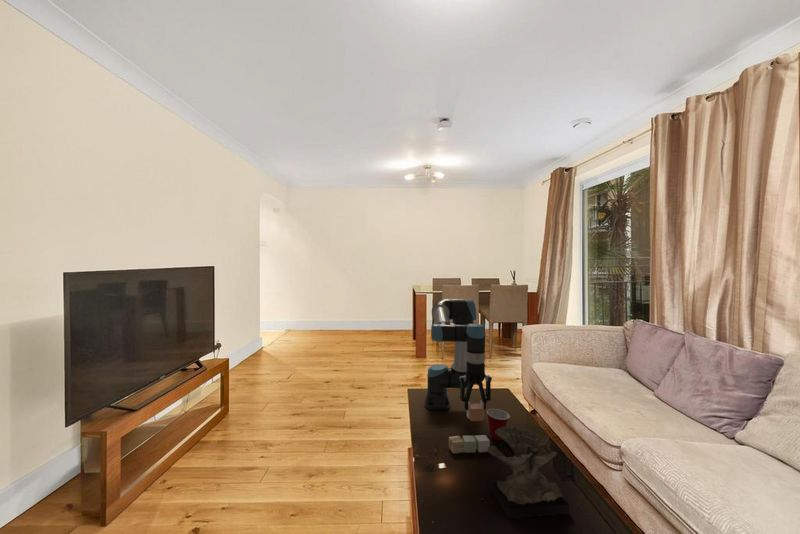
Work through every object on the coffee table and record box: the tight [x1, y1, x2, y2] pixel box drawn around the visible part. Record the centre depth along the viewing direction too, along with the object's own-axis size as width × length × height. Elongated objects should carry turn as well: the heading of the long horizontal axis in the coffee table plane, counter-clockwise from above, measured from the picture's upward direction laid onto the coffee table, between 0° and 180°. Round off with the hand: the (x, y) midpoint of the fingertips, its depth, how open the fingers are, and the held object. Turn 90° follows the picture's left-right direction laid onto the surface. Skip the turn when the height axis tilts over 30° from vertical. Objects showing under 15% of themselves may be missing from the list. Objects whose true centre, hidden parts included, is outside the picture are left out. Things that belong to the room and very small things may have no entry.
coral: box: [488, 426, 570, 519], centre depth 120 cm, size 25×20×22 cm
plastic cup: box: [486, 408, 511, 441], centre depth 161 cm, size 11×11×12 cm
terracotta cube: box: [469, 403, 484, 422], centre depth 139 cm, size 5×5×5 cm
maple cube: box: [448, 435, 465, 455], centre depth 150 cm, size 5×5×5 cm
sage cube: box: [462, 435, 477, 454], centre depth 150 cm, size 5×5×5 cm
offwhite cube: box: [474, 434, 491, 453], centre depth 151 cm, size 5×5×5 cm
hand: (475, 417), depth 139 cm, fingers closed on terracotta cube, 5 cm apart
